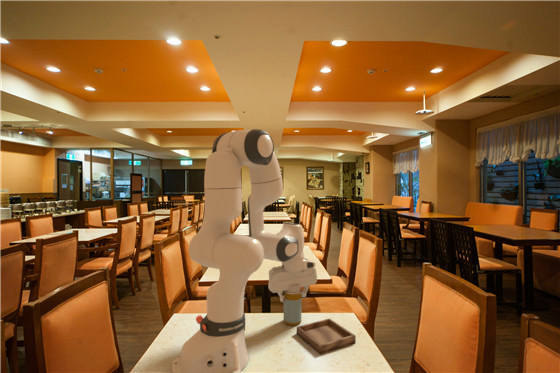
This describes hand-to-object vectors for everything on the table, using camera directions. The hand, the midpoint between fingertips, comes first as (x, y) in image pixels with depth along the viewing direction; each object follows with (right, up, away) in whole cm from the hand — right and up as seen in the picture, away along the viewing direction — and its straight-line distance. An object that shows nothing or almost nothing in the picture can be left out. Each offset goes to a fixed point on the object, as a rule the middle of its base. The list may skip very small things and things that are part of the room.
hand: (293, 298), depth 118 cm
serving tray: (+11, -9, -13) cm, 19 cm away
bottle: (0, -9, 0) cm, 9 cm away
